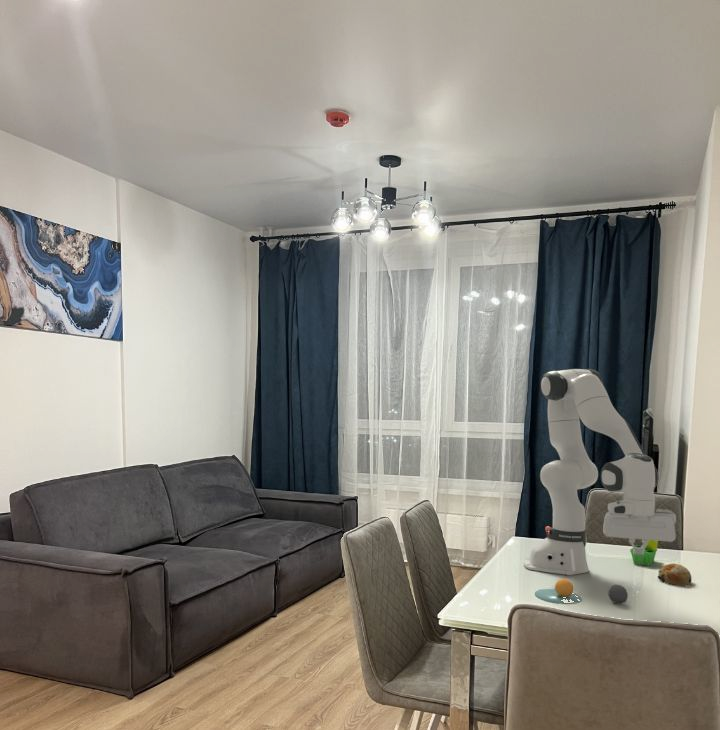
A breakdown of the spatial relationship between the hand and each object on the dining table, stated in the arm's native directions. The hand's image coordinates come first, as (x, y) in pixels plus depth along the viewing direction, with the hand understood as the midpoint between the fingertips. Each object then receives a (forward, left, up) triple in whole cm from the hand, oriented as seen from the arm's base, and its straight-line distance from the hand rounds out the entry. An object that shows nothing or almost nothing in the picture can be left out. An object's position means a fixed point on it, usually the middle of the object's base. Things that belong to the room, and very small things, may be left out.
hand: (638, 553), depth 201 cm
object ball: (-21, 0, -12) cm, 25 cm away
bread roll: (+16, +30, -15) cm, 38 cm away
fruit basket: (+11, +54, -15) cm, 57 cm away
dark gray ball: (-6, -1, -12) cm, 14 cm away
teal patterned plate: (-23, 0, -15) cm, 28 cm away
